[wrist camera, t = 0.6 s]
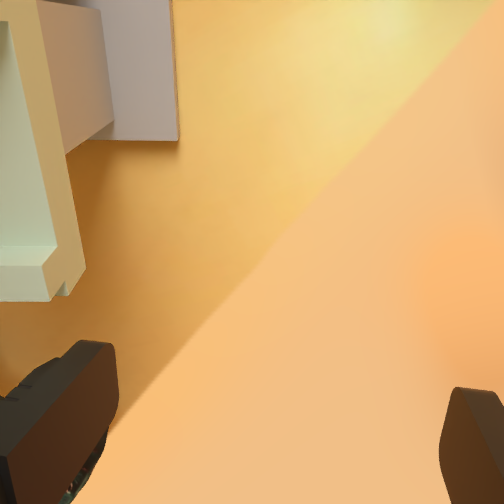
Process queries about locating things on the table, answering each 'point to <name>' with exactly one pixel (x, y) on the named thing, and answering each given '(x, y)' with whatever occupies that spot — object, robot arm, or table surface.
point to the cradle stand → (71, 120)
